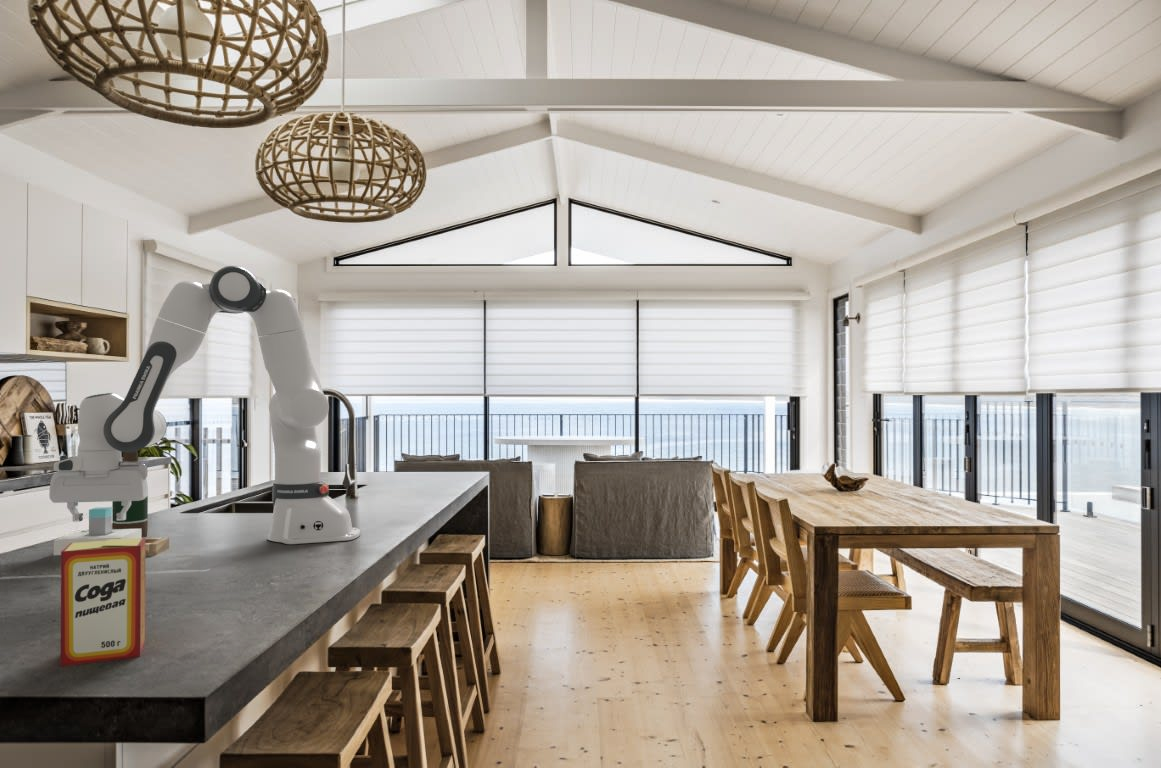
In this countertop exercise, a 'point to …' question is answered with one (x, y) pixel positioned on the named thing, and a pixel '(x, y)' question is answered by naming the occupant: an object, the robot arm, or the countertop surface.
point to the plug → (100, 521)
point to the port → (93, 537)
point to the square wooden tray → (156, 546)
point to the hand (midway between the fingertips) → (99, 520)
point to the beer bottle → (131, 507)
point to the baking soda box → (102, 600)
